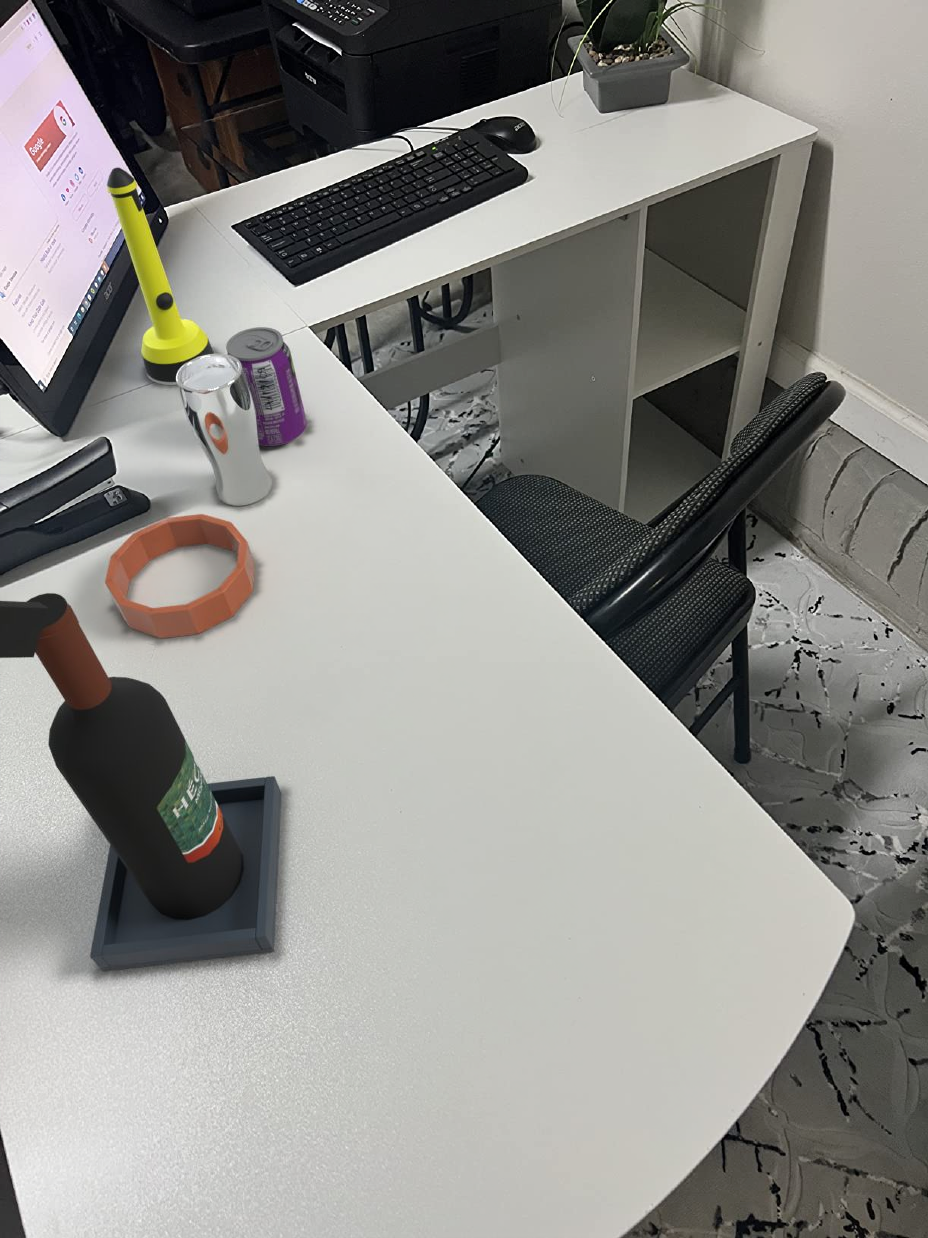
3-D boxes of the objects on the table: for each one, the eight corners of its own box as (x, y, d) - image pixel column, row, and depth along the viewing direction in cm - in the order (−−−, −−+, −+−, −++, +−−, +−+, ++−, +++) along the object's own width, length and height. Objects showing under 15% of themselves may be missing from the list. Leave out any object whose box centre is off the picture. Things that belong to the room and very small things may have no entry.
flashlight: (63, 168, 107) (93, 194, 102) (137, 144, 110) (170, 167, 105) (135, 363, 126) (164, 393, 120) (197, 338, 129) (227, 365, 124)
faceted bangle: (90, 614, 95) (77, 590, 93) (173, 527, 103) (163, 502, 101) (202, 653, 91) (192, 628, 88) (279, 558, 99) (272, 533, 96)
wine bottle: (153, 835, 77) (-10, 569, 55) (247, 825, 77) (122, 556, 55) (138, 925, 72) (-48, 672, 50) (239, 915, 72) (97, 657, 50)
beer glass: (289, 480, 107) (258, 363, 96) (246, 516, 103) (209, 399, 92) (243, 461, 110) (208, 345, 99) (200, 495, 106) (159, 379, 95)
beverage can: (319, 421, 114) (299, 330, 105) (287, 456, 110) (264, 365, 101) (269, 409, 117) (245, 319, 108) (236, 443, 112) (208, 353, 103)
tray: (102, 971, 70) (89, 957, 68) (129, 810, 80) (119, 793, 78) (274, 952, 70) (266, 936, 69) (281, 792, 80) (274, 775, 78)
